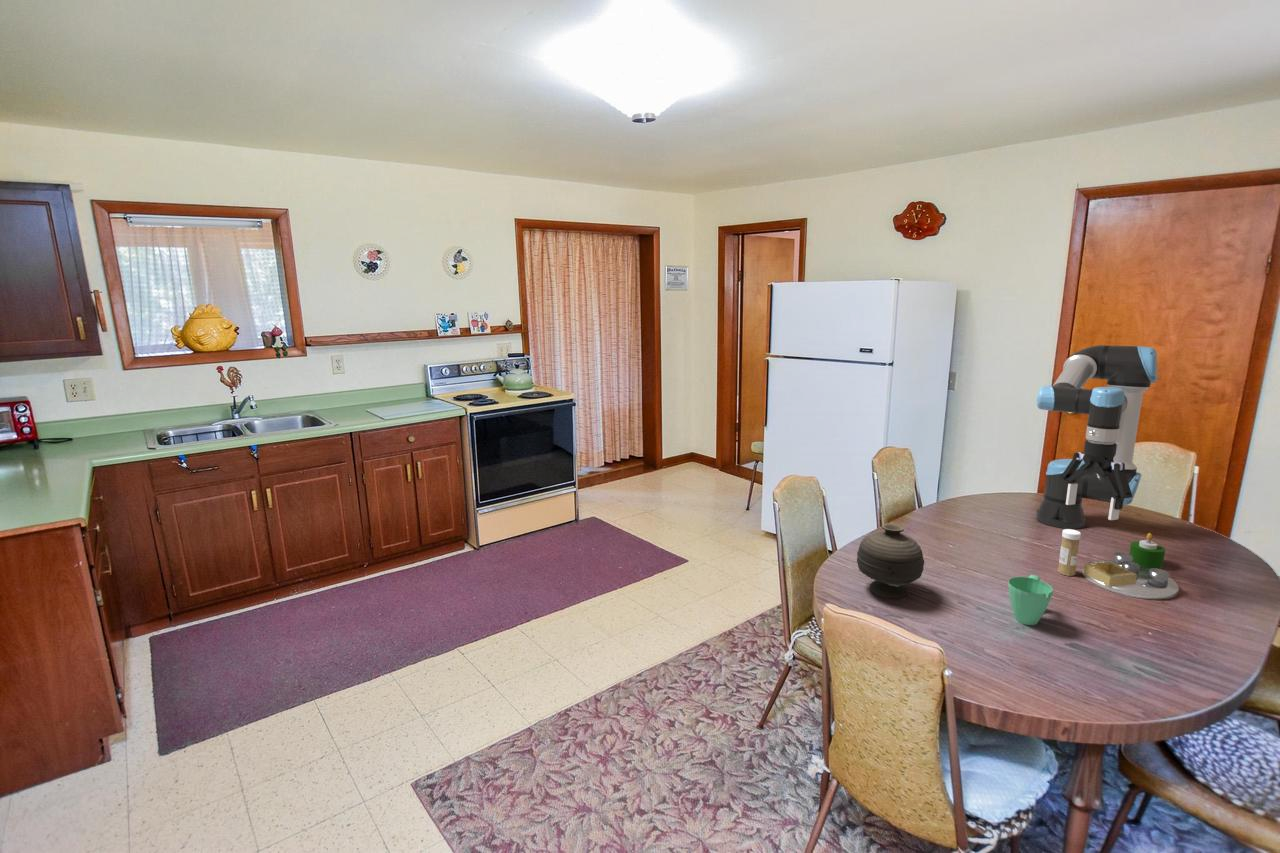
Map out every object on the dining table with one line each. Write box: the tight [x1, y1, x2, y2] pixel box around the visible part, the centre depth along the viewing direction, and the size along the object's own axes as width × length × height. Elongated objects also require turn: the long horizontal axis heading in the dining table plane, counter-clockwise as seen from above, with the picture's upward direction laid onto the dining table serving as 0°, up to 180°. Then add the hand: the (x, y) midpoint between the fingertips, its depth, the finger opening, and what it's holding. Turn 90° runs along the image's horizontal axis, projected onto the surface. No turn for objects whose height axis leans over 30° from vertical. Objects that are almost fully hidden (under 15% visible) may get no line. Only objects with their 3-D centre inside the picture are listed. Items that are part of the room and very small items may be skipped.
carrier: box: [1081, 551, 1179, 601], centre depth 180 cm, size 22×22×6 cm
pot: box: [856, 522, 925, 600], centre depth 177 cm, size 18×18×20 cm
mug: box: [1007, 574, 1054, 626], centre depth 162 cm, size 15×10×10 cm
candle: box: [1128, 532, 1166, 569], centre depth 191 cm, size 8×8×10 cm
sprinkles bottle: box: [1057, 528, 1082, 577], centre depth 185 cm, size 5×5×14 cm
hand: (1090, 511), depth 182 cm, fingers open, 13 cm apart
